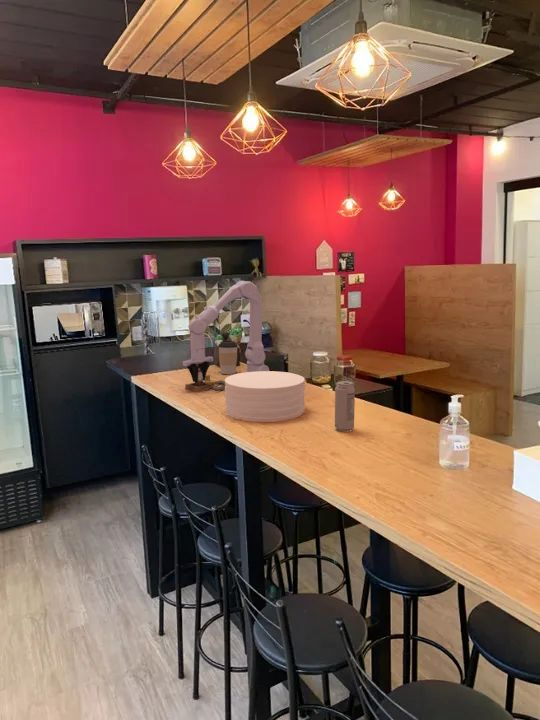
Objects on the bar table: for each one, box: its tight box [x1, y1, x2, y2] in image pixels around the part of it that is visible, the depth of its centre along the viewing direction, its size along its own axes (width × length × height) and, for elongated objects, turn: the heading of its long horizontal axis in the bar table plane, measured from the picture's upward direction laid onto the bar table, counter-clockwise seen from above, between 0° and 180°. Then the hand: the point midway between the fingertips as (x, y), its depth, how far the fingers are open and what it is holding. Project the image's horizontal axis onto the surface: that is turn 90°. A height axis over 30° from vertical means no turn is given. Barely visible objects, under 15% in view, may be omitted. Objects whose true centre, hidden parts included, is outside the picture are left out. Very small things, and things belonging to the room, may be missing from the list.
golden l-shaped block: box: [203, 374, 219, 386], centre depth 237 cm, size 6×2×4 cm, turn 47°
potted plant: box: [213, 331, 241, 368], centre depth 277 cm, size 16×11×18 cm
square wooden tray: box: [184, 381, 213, 393], centre depth 229 cm, size 8×8×2 cm
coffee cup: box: [217, 340, 239, 375], centre depth 260 cm, size 9×9×15 cm
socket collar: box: [210, 380, 226, 392], centre depth 234 cm, size 12×12×1 cm
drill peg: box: [194, 367, 204, 386], centre depth 229 cm, size 3×3×8 cm
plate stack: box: [224, 370, 306, 423], centre depth 196 cm, size 28×28×12 cm
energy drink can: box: [334, 380, 356, 432], centre depth 173 cm, size 6×6×15 cm
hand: (198, 380), depth 229 cm, fingers closed on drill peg, 3 cm apart
